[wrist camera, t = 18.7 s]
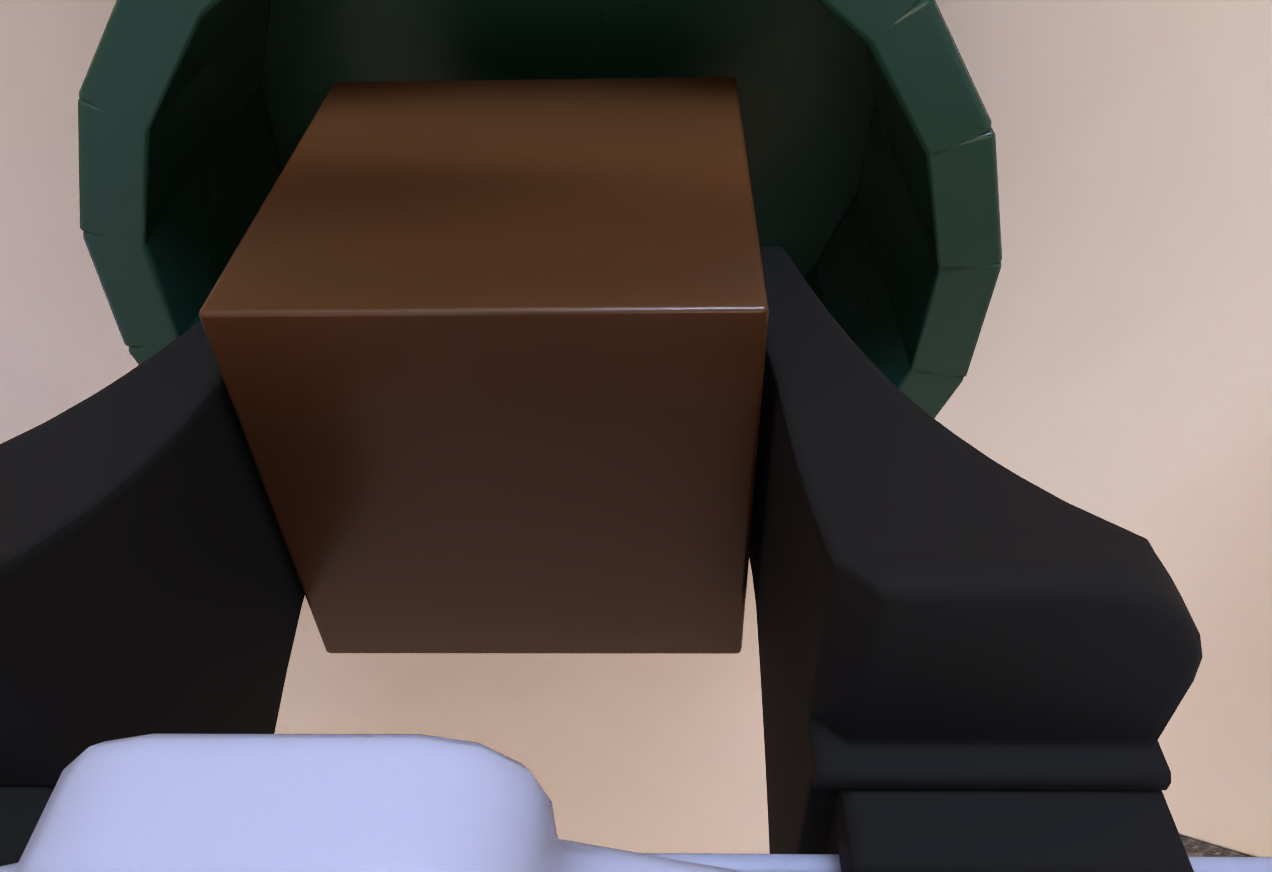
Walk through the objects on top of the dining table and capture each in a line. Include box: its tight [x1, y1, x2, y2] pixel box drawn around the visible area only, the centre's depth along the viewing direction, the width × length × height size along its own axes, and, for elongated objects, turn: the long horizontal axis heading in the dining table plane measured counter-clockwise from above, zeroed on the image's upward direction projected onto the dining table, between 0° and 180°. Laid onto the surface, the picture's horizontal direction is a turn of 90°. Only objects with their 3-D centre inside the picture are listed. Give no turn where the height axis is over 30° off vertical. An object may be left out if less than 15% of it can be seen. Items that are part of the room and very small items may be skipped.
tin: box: [78, 0, 1002, 418], centre depth 15 cm, size 12×12×5 cm
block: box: [199, 77, 769, 653], centre depth 12 cm, size 5×5×5 cm
